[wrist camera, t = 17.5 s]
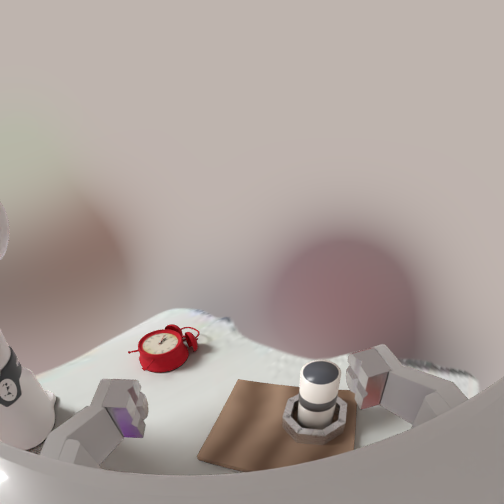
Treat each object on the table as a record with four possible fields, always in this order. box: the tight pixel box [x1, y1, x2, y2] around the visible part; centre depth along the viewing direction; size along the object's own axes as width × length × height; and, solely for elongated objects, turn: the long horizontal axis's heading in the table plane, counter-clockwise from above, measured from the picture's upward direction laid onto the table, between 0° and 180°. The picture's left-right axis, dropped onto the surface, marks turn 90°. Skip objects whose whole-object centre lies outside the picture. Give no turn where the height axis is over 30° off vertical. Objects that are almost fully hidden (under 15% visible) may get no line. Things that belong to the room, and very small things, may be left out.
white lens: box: [297, 360, 341, 430], centre depth 34 cm, size 5×5×10 cm
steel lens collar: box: [282, 394, 347, 445], centre depth 35 cm, size 9×9×2 cm
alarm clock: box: [128, 324, 199, 372], centre depth 55 cm, size 10×6×15 cm
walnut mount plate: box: [197, 379, 357, 472], centre depth 35 cm, size 20×17×1 cm
